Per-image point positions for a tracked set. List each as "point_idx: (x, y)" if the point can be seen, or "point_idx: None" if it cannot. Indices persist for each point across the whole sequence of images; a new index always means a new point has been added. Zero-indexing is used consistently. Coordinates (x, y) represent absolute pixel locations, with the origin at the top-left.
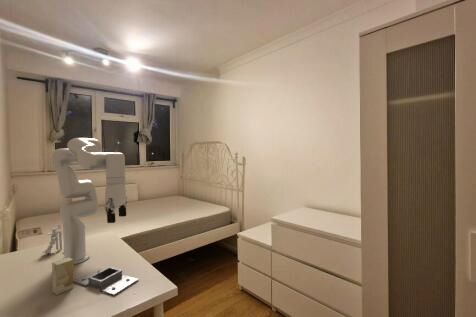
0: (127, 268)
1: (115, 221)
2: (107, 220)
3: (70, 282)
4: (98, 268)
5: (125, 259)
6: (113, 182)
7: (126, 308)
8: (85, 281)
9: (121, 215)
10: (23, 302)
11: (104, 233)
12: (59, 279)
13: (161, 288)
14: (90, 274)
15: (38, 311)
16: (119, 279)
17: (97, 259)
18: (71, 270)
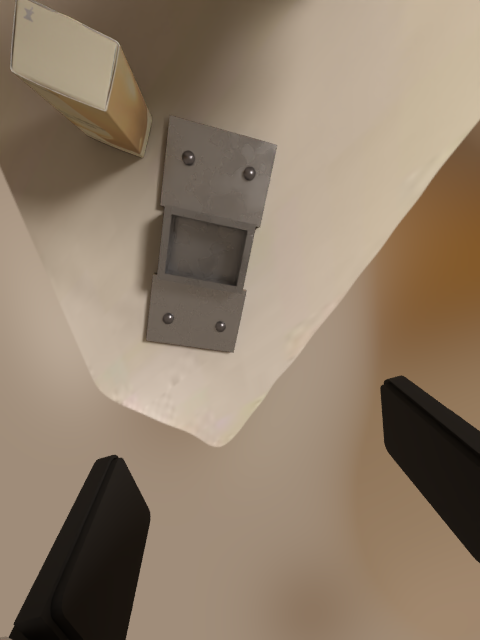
0: (297, 261)
1: (145, 526)
2: (85, 486)
3: (125, 147)
4: (272, 145)
5: (364, 198)
6: None
7: (117, 401)
8: (177, 179)
9: (388, 418)
10: (4, 30)
11: None
12: (71, 117)
13: (212, 427)
14: (225, 152)
15: (3, 163)
16: (218, 297)
17: (361, 45)
18: (115, 131)
